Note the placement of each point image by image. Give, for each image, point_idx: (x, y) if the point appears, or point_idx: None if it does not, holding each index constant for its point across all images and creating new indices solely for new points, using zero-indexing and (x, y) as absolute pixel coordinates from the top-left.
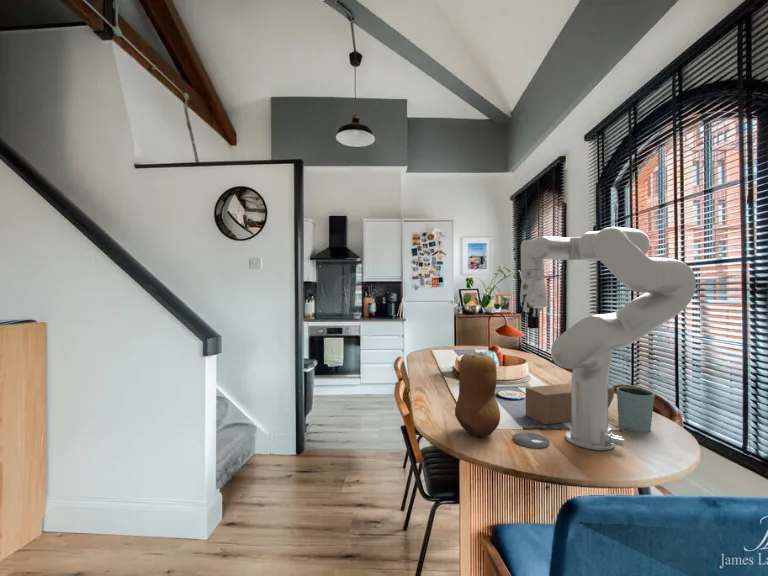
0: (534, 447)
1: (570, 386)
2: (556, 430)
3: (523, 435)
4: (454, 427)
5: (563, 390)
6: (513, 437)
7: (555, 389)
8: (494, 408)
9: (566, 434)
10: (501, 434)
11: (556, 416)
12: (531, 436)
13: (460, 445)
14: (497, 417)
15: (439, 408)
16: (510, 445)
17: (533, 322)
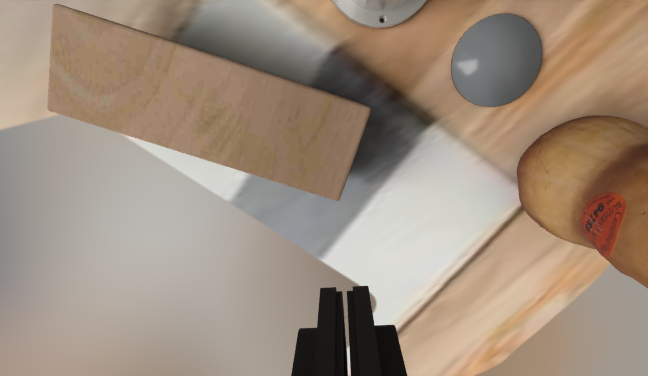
0: (533, 29)
1: (189, 116)
2: (374, 64)
3: (490, 87)
4: None
5: (262, 102)
6: (520, 94)
7: (274, 126)
8: (622, 127)
9: (410, 13)
10: (509, 132)
11: (327, 92)
12: (480, 71)
13: None
14: (597, 117)
15: (470, 324)
16: (556, 77)
17: (390, 347)
